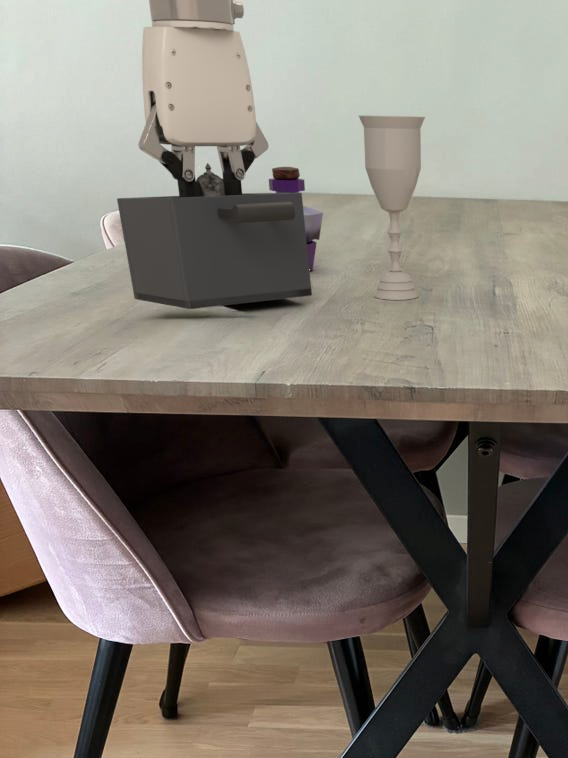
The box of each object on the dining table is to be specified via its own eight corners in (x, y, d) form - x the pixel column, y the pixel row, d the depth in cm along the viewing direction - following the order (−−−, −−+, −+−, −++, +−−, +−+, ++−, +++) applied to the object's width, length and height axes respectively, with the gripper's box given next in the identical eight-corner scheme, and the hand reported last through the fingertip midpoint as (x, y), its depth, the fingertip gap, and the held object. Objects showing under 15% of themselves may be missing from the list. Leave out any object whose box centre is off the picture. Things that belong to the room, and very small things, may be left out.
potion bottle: (329, 265, 128) (323, 165, 122) (323, 275, 120) (317, 169, 115) (264, 264, 128) (255, 164, 122) (254, 274, 120) (244, 168, 114)
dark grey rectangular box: (338, 299, 98) (329, 192, 94) (213, 313, 90) (197, 197, 86) (250, 287, 112) (238, 193, 107) (134, 299, 104) (116, 198, 99)
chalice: (353, 294, 109) (344, 115, 100) (399, 288, 113) (395, 115, 104) (392, 303, 104) (387, 116, 96) (439, 297, 109) (439, 117, 100)
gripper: (251, 20, 97) (267, 215, 106) (89, 7, 88) (122, 223, 97) (288, 16, 92) (301, 222, 101) (121, 3, 83) (152, 230, 92)
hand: (213, 220), depth 99 cm, fingers closed on salt shaker, 3 cm apart
